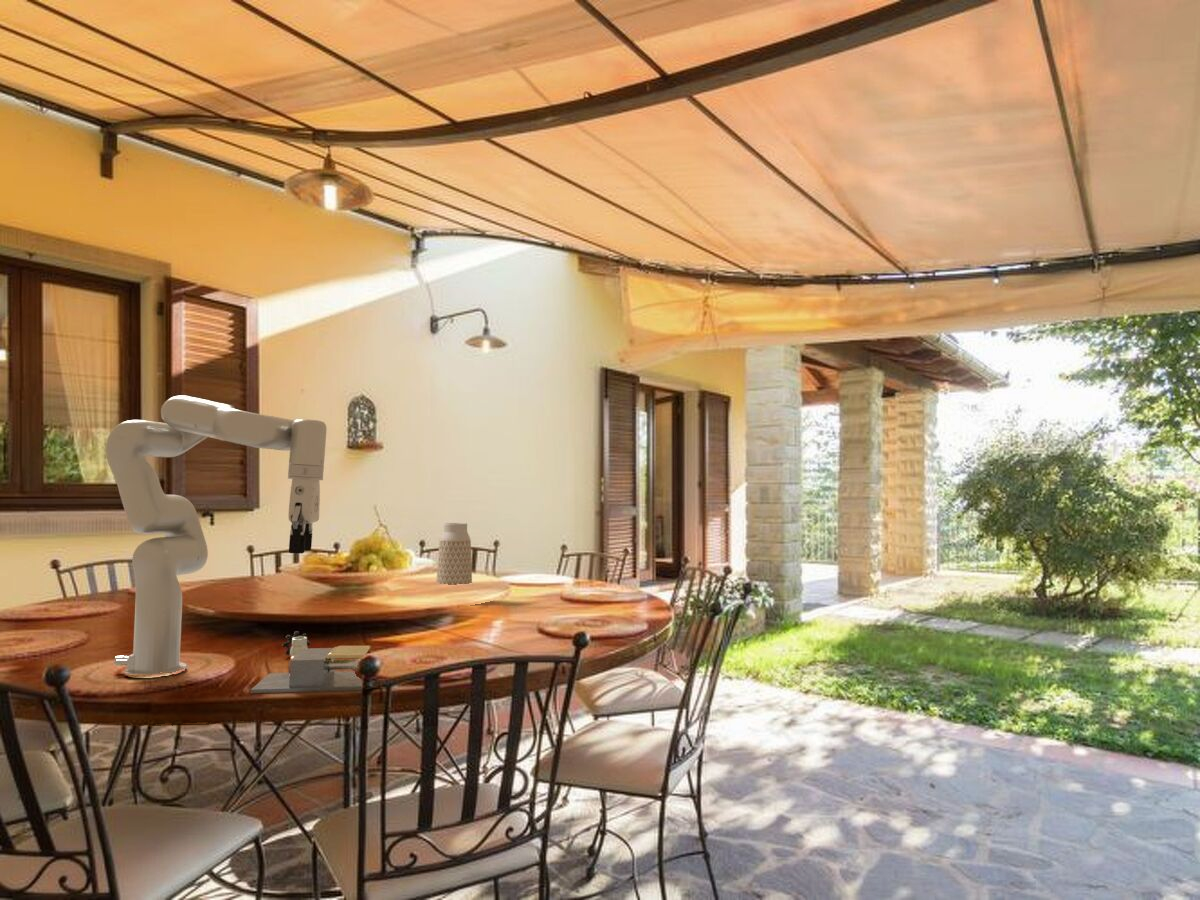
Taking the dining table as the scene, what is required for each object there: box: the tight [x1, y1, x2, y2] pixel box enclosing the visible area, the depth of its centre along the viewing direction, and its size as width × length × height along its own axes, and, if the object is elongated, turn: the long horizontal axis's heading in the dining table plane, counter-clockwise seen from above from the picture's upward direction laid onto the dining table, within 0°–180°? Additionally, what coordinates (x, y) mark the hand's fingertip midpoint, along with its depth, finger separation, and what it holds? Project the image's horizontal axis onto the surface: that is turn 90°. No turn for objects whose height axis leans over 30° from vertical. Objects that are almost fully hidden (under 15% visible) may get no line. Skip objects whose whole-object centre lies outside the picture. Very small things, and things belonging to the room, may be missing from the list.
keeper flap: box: [326, 645, 371, 660], centre depth 165 cm, size 8×10×1 cm
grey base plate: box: [250, 647, 363, 694], centre depth 164 cm, size 23×14×6 cm, turn 99°
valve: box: [281, 630, 311, 657], centre depth 185 cm, size 7×7×12 cm
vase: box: [435, 522, 473, 585], centre depth 287 cm, size 14×14×31 cm
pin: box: [287, 655, 359, 676], centre depth 164 cm, size 14×4×4 cm, turn 99°
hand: (300, 550), depth 167 cm, fingers open, 6 cm apart
